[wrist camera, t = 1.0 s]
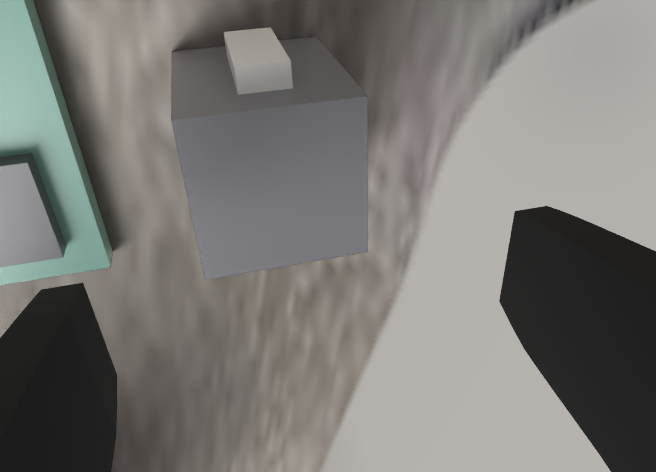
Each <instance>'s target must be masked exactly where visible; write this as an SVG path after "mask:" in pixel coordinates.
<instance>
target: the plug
mask: <svg viewBox="0 0 656 472" xmlns="http://www.w3.org/2000/svg"><path fill="white" fill-rule="evenodd" d="M224 39H225V46H220V47H211V48H201V49H191V50H182V51H172V115H171V120H172V125H173V130H174V135H175V140H176V144H177V149H178V154H179V159H180V163H181V168H182V173H183V178H184V182H185V187H186V192H187V197H188V201H189V206H190V211H191V216H192V220H193V225H194V230H195V235H196V239H197V244H198V249H199V254H200V258H201V263H202V268H203V273H204V277H205V280H208V279H213V278H219V277H225V276H231V275H237V274H243V273H248V272H254V271H260V270H266V269H272V268H278V267H284V266H289V265H295V264H301V263H307V262H313V261H319V260H324V259H330V258H336V257H342V256H348V255H354V254H359V253H365V252H368V96H367V95H366V94H365V92H364V91H363V90H362V89H361V88H360V87H359V85H358V84H357V83H356V82H355V81H354V79H353V78H352V77H351V76H350V75H349V73H348V72H347V71H346V70H345V69H344V68H343V66H342V65H341V64H340V63H339V62H338V60H337V59H336V58H335V57H334V56H333V54H332V53H331V52H330V51H329V50H328V48H327V47H326V46H325V45H324V44H323V43H322V41H321V40H320V39H319V38H318V37H317V36H316V37H307V38H297V39H287V40H278V39H277V37H276V35H275V34H274V32H273V30H272V29H271V27H269V28H258V29H248V30H238V31H228V32H224Z"/></svg>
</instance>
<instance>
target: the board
mask: <svg viewBox="0 0 656 472" xmlns="http://www.w3.org/2000/svg"><path fill="white" fill-rule="evenodd" d="M112 256H113V251H112V248H111V245H110V242H109V239H108V235H107V232H106V229H105V226H104V223H103V220H102V216H101V213H100V210H99V207H98V204H97V201H96V197H95V194H94V191H93V188H92V185H91V182H90V178H89V175H88V172H87V169H86V166H85V163H84V159H83V156H82V153H81V150H80V147H79V144H78V141H77V137H76V134H75V131H74V128H73V125H72V122H71V118H70V115H69V112H68V109H67V106H66V103H65V99H64V96H63V93H62V90H61V87H60V84H59V80H58V77H57V74H56V71H55V68H54V65H53V61H52V58H51V55H50V52H49V49H48V46H47V43H46V39H45V36H44V33H43V30H42V27H41V24H40V20H39V17H38V14H37V11H36V8H35V5H34V1H33V0H0V285H5V284H11V283H17V282H24V281H30V280H36V279H42V278H48V277H54V276H60V275H66V274H73V273H79V272H85V271H91V270H97V269H103V268H109V267H111V262H112Z"/></svg>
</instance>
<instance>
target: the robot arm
mask: <svg viewBox="0 0 656 472" xmlns="http://www.w3.org/2000/svg"><path fill="white" fill-rule="evenodd" d="M500 303H501V305H502V307H503V309H504V311H505V313H506V315H507V317H508V319H509V321H510V323H511V325H512V327H513V329H514V331H515V333H516V335H517V336H518V338H519V340H520V342H521V344H522V345H523V347H524V349H525V351H526V352H527V353H528V355H529V356H530V358H531V359H532V361H533V362H534V364H535V365H536V367H537V368H538V369H539V371H540V372H541V373H542V375H543V376H544V378H545V379H546V381H547V382H548V383H549V385H550V386H551V388H552V389H553V390H554V392H555V393H556V395H557V396H558V397H559V399H560V400H561V402H562V403H563V404H564V406H565V407H566V409H567V410H568V411H569V413H570V414H571V415H572V417H573V418H574V420H575V421H576V422H577V424H578V425H579V427H580V428H581V429H582V431H583V432H584V433H585V435H586V436H587V438H588V439H589V440H590V442H591V443H592V445H593V446H594V447H595V449H596V450H597V452H598V453H599V454H600V456H601V457H602V459H603V460H604V462H605V463H606V465H607V466H608V468H609V469H610V471H611V472H656V251H654V250H651V249H649V248H647V247H644V246H642V245H640V244H638V243H635V242H633V241H631V240H628V239H626V238H624V237H622V236H619V235H617V234H615V233H613V232H610V231H608V230H606V229H604V228H601V227H599V226H597V225H594V224H592V223H590V222H587V221H585V220H583V219H580V218H578V217H575V216H573V215H570V214H568V213H565V212H562V211H560V210H557V209H554V208H551V207H548V206H544V207H538V208H532V209H526V210H520V211H515V213H514V219H513V225H512V231H511V237H510V243H509V248H508V254H507V260H506V266H505V272H504V277H503V283H502V289H501V295H500ZM116 419H117V374H116V371H115V369H114V366H113V363H112V360H111V358H110V355H109V352H108V349H107V347H106V344H105V341H104V339H103V336H102V333H101V330H100V328H99V325H98V322H97V320H96V317H95V314H94V311H93V309H92V306H91V303H90V301H89V298H88V295H87V292H86V290H85V287H84V284H83V283H79V284H73V285H67V286H61V287H55V288H49V289H43V290H41V291H40V292H39V293H38V294H37V295H36V296H35V297H34V298H33V300H32V301H31V302H30V303H29V304H28V305H27V307H26V308H25V309H24V310H23V311H22V313H21V314H20V315H19V316H18V317H17V319H16V320H15V321H14V322H13V323H12V325H11V326H10V327H9V328H8V329H7V331H6V332H5V333H4V334H3V335H2V337H1V338H0V472H111V468H112V461H113V454H114V447H115V439H116Z"/></svg>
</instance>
